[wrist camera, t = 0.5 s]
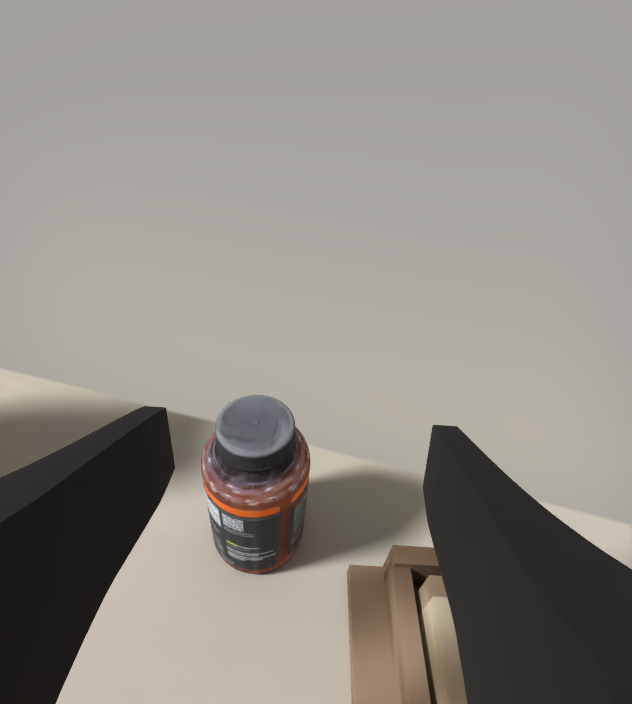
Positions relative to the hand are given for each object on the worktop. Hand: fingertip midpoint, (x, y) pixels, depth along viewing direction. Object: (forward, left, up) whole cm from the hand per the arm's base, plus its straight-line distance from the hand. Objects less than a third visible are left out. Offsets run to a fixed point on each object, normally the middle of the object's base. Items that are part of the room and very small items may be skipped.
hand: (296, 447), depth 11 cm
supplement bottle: (+6, +2, -18) cm, 19 cm away
